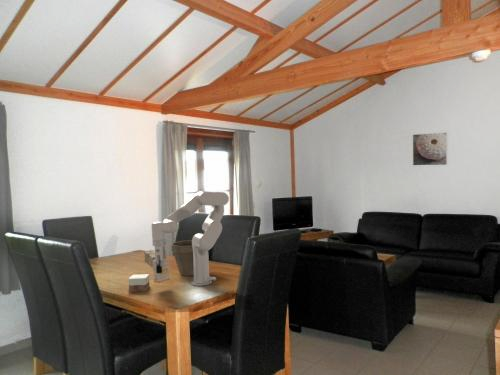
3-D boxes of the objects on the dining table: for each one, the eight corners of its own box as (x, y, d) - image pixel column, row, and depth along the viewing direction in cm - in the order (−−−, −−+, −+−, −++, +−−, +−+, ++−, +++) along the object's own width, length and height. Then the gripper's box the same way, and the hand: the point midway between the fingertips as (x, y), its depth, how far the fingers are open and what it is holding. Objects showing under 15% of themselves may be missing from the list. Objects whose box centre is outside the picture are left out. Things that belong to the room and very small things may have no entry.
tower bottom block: (149, 286, 247) (149, 280, 247) (145, 291, 237) (145, 284, 237) (133, 287, 246) (132, 281, 246) (128, 291, 236) (128, 285, 236)
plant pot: (169, 278, 266) (168, 246, 265) (174, 270, 290) (173, 240, 290) (207, 277, 267) (206, 245, 267) (208, 268, 292) (208, 239, 291)
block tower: (162, 267, 306) (153, 259, 332) (162, 256, 306) (153, 249, 332) (152, 268, 303) (144, 260, 329) (152, 257, 302) (144, 250, 328)
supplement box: (164, 278, 243) (163, 257, 243) (169, 279, 240) (168, 258, 240) (153, 282, 237) (152, 260, 236) (158, 283, 234) (157, 261, 233)
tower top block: (149, 280, 246) (149, 274, 246) (145, 284, 236) (145, 278, 236) (133, 281, 246) (132, 274, 246) (128, 285, 236) (128, 278, 236)
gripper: (162, 244, 229) (164, 274, 230) (167, 239, 246) (169, 267, 247) (149, 245, 229) (151, 275, 229) (155, 240, 246) (157, 267, 247)
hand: (160, 270), depth 238 cm, fingers closed on supplement box, 9 cm apart
